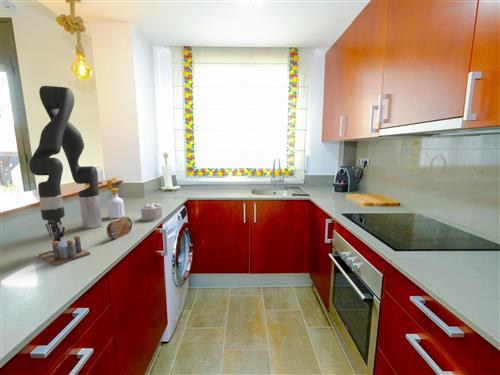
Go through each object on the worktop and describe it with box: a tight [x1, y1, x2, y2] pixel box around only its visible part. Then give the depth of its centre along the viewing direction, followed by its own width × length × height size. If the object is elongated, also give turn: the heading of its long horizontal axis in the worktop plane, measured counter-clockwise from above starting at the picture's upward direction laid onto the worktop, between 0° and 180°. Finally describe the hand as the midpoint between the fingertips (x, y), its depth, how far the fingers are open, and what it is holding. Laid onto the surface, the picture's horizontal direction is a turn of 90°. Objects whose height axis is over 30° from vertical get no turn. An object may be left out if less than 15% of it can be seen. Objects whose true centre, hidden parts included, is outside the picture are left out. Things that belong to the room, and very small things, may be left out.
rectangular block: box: [58, 239, 77, 258], centre depth 100 cm, size 4×9×4 cm, turn 55°
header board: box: [38, 235, 91, 267], centre depth 101 cm, size 16×12×8 cm
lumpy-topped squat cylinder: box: [140, 202, 163, 222], centre depth 155 cm, size 10×13×9 cm
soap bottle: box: [106, 177, 126, 219], centre depth 157 cm, size 9×9×25 cm
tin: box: [106, 216, 133, 240], centre depth 123 cm, size 15×3×8 cm, turn 168°
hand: (57, 246), depth 105 cm, fingers closed
